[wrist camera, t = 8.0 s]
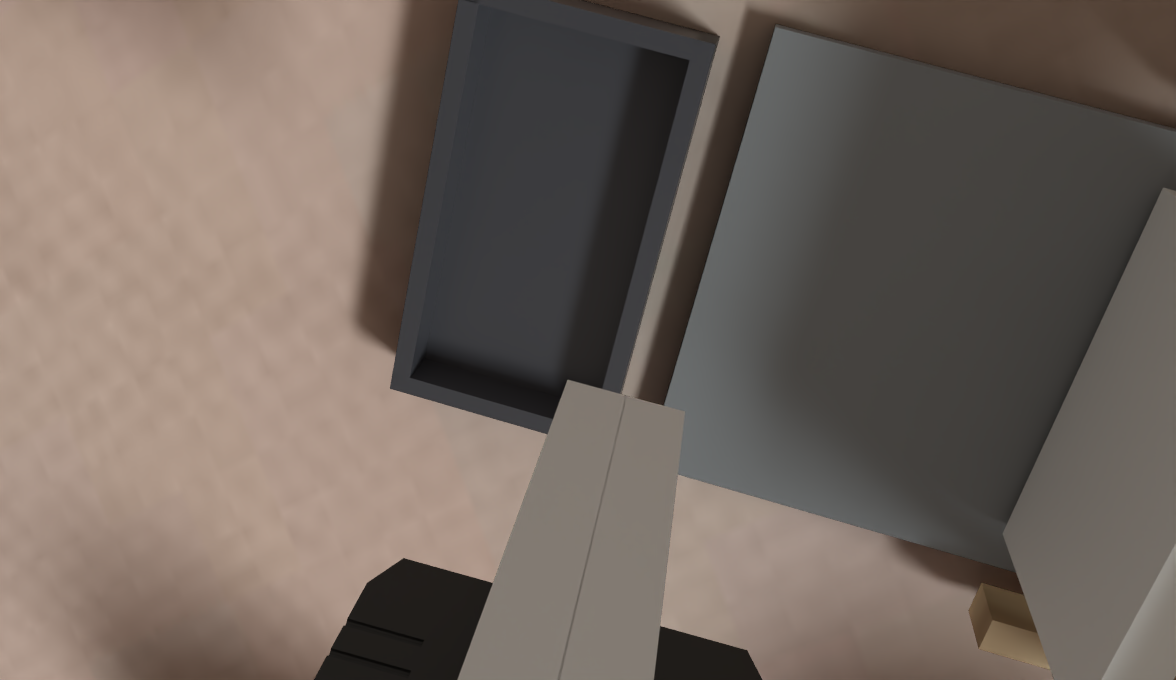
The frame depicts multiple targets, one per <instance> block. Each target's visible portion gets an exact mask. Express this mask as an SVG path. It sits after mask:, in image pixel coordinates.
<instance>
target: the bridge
mask: <svg viewBox="0 0 1176 680" xmlns="http://www.w3.org/2000/svg"><path fill="white" fill-rule="evenodd" d="M969 614H970V618H971V622H972V626H973V629H974V633H975V637H976V641H977V644H978V648H979V649H980V650H984V651H987V652H991V653H994V654H997V655H1001V656H1004V657H1007V658H1011V659H1014V660H1018V661H1021V662H1024V663H1028V664H1031V665H1035V666H1038V667H1041V668H1045V669H1048V670H1050V667H1049V664H1048V661H1047V658H1046V655H1045V653H1044V650H1043V647H1042V644H1041V641H1040V638H1039V636H1038V633H1037V630H1036V627H1035V624H1034V621H1033V619H1032V616H1031V613H1030V610H1029V607H1028V604H1027V602H1026V599H1025V596H1024V595H1022V594H1019V593H1015V592H1012V591H1008V590H1005V589H1001V588H998V587H995V586H991V585H988V584H984V583H981V585H980V587H979V589H978V591H977V593H976V596H975V598H974V600H973V602H972V604H971V606H970V608H969ZM1174 680H1176V676H1175V678H1174Z"/></svg>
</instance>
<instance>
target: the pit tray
mask: <svg viewBox="0 0 1176 680" xmlns="http://www.w3.org/2000/svg"><path fill="white" fill-rule="evenodd" d="M719 37H720V36H716V35H713V34H709V33H705V32H701V31H697V30H694V29H690V28H686V27H682V26H678V25H675V24H671V23H667V22H663V21H659V20H656V19H652V18H648V17H644V16H641V15H637V14H633V13H629V12H625V11H622V10H618V9H614V8H610V7H606V6H603V5H599V4H595V3H591V2H587V1H584V0H458V6H457V11H456V17H455V23H454V28H453V34H452V40H451V45H450V51H449V57H448V62H447V68H446V74H445V79H444V85H443V91H442V96H441V102H440V108H439V113H438V119H437V125H436V130H435V136H434V142H433V147H432V153H431V159H430V164H429V170H428V176H427V181H426V187H425V193H424V198H423V204H422V210H421V215H420V221H419V227H418V232H417V238H416V244H415V249H414V255H413V261H412V266H411V272H410V278H409V283H408V289H407V295H406V300H405V306H404V312H403V317H402V323H401V329H400V334H399V340H398V346H397V351H396V357H395V363H394V368H393V374H392V380H391V385H390V389H393V390H397V391H400V392H404V393H407V394H411V395H414V396H418V397H421V398H424V399H428V400H431V401H435V402H438V403H442V404H445V405H449V406H452V407H455V408H459V409H462V410H466V411H469V412H473V413H476V414H480V415H483V416H486V417H490V418H493V419H497V420H500V421H504V422H507V423H511V424H514V425H517V426H521V427H524V428H528V429H531V430H535V431H538V432H542V433H545V434H548V432H549V429H550V426H551V424H552V421H553V418H554V415H555V413H556V410H557V407H558V404H559V402H560V399H561V396H562V394H563V391H564V388H565V385H566V383H567V380H571V381H574V382H578V383H582V384H585V385H589V386H593V387H597V388H600V389H604V390H608V391H611V392H615V393H619V394H622V390H623V386H624V383H625V379H626V376H627V372H628V368H629V365H630V361H631V357H632V354H633V350H634V346H635V343H636V339H637V336H638V332H639V328H640V325H641V321H642V317H643V314H644V310H645V306H646V303H647V299H648V296H649V292H650V288H651V285H652V281H653V277H654V274H655V270H656V266H657V263H658V259H659V256H660V252H661V248H662V245H663V241H664V237H665V234H666V230H667V226H668V223H669V219H670V216H671V212H672V208H673V205H674V201H675V197H676V194H677V190H678V186H679V183H680V179H681V176H682V172H683V168H684V165H685V161H686V157H687V154H688V150H689V146H690V143H691V139H692V136H693V132H694V128H695V125H696V121H697V117H698V114H699V110H700V106H701V103H702V99H703V96H704V92H705V88H706V85H707V81H708V77H709V74H710V70H711V66H712V63H713V59H714V56H715V52H716V48H717V45H718V41H719Z"/></svg>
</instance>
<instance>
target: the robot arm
mask: <svg viewBox="0 0 1176 680" xmlns="http://www.w3.org/2000/svg"><path fill="white" fill-rule="evenodd" d="M684 416H685V411H681V410H677V409H674V408H670V407H666V406H663V405H659V404H655V403H652V402H648V401H644V400H641V399H637V398H633V397H630V396H626V395H622V394H619V393H615V392H611V391H608V390H604V389H600V388H597V387H593V386H589V385H585V384H582V383H578V382H574V381H571V380H567V383H566V385H565V388H564V391H563V394H562V396H561V399H560V402H559V404H558V407H557V410H556V413H555V415H554V418H553V421H552V424H551V426H550V429H549V432H548V434H547V437H546V440H545V443H544V445H543V448H542V451H541V453H540V456H539V459H538V462H537V464H536V467H535V470H534V473H533V475H532V478H531V481H530V483H529V486H528V489H527V492H526V494H525V497H524V500H523V503H522V505H521V508H520V511H519V513H518V516H517V519H516V522H515V524H514V527H513V530H512V533H511V535H510V538H509V541H508V543H507V546H506V549H505V552H504V554H503V557H502V560H501V562H500V565H499V568H498V571H497V573H496V576H495V579H494V582H493V583H491V582H487V581H483V580H480V579H476V578H473V577H469V576H466V575H462V574H458V573H455V572H451V571H448V570H444V569H440V568H437V567H433V566H430V565H426V564H423V563H419V562H415V561H412V560H408V559H405V558H403V559H402V560H400V561H399V562H397V563H396V564H395V565H393V566H392V567H390V568H389V569H387V570H386V571H384V572H383V573H381V574H380V575H378V576H377V577H375V578H374V579H372V580H371V581H369V582H368V583H367V584H366V586H365V588H364V590H363V591H362V593H361V595H360V597H359V599H358V601H357V602H356V604H355V606H354V608H353V610H352V611H351V613H350V615H349V617H348V619H347V623H346V625H345V626H343V628H342V630H341V631H340V633H339V635H338V637H337V639H336V641H335V642H334V644H333V646H332V648H331V651H330V654H329V656H327V657H326V659H325V661H324V662H323V664H322V666H321V668H320V670H319V671H318V673H317V675H316V677H315V679H314V680H762V678H761V676H760V674H759V673H758V671H757V669H756V667H755V665H754V663H753V661H752V659H751V657H750V655H749V653H748V651H747V650H744V649H740V648H737V647H733V646H729V645H726V644H722V643H719V642H715V641H712V640H708V639H704V638H701V637H697V636H694V635H690V634H686V633H683V632H679V631H676V630H672V629H668V628H665V627H661V626H660V622H661V614H662V605H663V597H664V588H665V579H666V571H667V562H668V554H669V545H670V537H671V528H672V519H673V511H674V502H675V494H676V485H677V476H678V468H679V459H680V451H681V442H682V433H683V425H684Z"/></svg>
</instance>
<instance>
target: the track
mask: <svg viewBox="0 0 1176 680" xmlns="http://www.w3.org/2000/svg"><path fill="white" fill-rule="evenodd" d="M1163 188H1167V189H1170V190H1174V191H1176V129H1175V128H1171V127H1167V126H1163V125H1160V124H1156V123H1152V122H1148V121H1144V120H1140V119H1137V118H1133V117H1129V116H1125V115H1121V114H1118V113H1114V112H1110V111H1106V110H1102V109H1098V108H1095V107H1091V106H1087V105H1083V104H1079V103H1076V102H1072V101H1068V100H1064V99H1060V98H1056V97H1053V96H1049V95H1045V94H1041V93H1037V92H1034V91H1030V90H1026V89H1022V88H1018V87H1014V86H1011V85H1007V84H1003V83H999V82H995V81H992V80H988V79H984V78H980V77H976V76H972V75H969V74H965V73H961V72H957V71H953V70H950V69H946V68H942V67H938V66H934V65H930V64H927V63H923V62H919V61H915V60H911V59H908V58H904V57H900V56H896V55H892V54H889V53H885V52H881V51H877V50H873V49H869V48H866V47H862V46H858V45H854V44H850V43H847V42H843V41H839V40H835V39H831V38H827V37H824V36H820V35H816V34H812V33H808V32H805V31H801V30H797V29H793V28H789V27H785V26H782V25H778V24H776V25H775V28H774V32H773V35H772V38H771V42H770V45H769V49H768V52H767V55H766V59H765V62H764V66H763V69H762V72H761V76H760V79H759V83H758V86H757V89H756V93H755V96H754V100H753V103H752V106H751V110H750V113H749V117H748V120H747V123H746V127H745V130H744V134H743V137H742V140H741V144H740V147H739V151H738V154H737V157H736V161H735V164H734V168H733V171H732V174H731V178H730V181H729V185H728V188H727V191H726V195H725V198H724V202H723V205H722V208H721V212H720V215H719V219H718V222H717V225H716V229H715V232H714V236H713V239H712V242H711V246H710V249H709V253H708V256H707V259H706V263H705V266H704V270H703V273H702V276H701V280H700V283H699V287H698V290H697V293H696V297H695V300H694V303H693V307H692V310H691V314H690V317H689V320H688V324H687V327H686V331H685V334H684V337H683V341H682V344H681V348H680V351H679V354H678V358H677V361H676V365H675V368H674V371H673V375H672V378H671V382H670V385H669V388H668V392H667V395H666V399H665V402H664V405H663V406H666V407H670V408H674V409H677V410H681V411H685V416H684V425H683V433H682V442H681V451H680V459H679V468H678V475H682V476H685V477H689V478H692V479H696V480H699V481H702V482H706V483H709V484H713V485H716V486H720V487H723V488H727V489H730V490H733V491H737V492H740V493H744V494H747V495H751V496H754V497H758V498H761V499H764V500H768V501H771V502H775V503H778V504H782V505H785V506H789V507H792V508H795V509H799V510H802V511H806V512H809V513H813V514H816V515H820V516H823V517H826V518H830V519H833V520H837V521H840V522H844V523H847V524H851V525H854V526H857V527H861V528H864V529H868V530H871V531H875V532H878V533H882V534H885V535H889V536H892V537H895V538H899V539H902V540H906V541H909V542H913V543H916V544H920V545H923V546H926V547H930V548H933V549H937V550H940V551H944V552H947V553H951V554H954V555H957V556H961V557H964V558H968V559H971V560H975V561H978V562H982V563H985V564H988V565H992V566H995V567H999V568H1002V569H1006V570H1009V571H1013V572H1016V570H1015V568H1014V565H1013V562H1012V559H1011V556H1010V553H1009V551H1008V548H1007V545H1006V542H1005V539H1004V536H1003V532H1004V529H1005V527H1006V525H1007V523H1008V521H1009V519H1010V516H1011V514H1012V512H1013V510H1014V508H1015V506H1016V504H1017V501H1018V499H1019V497H1020V495H1021V493H1022V491H1023V488H1024V486H1025V484H1026V482H1027V480H1028V478H1029V475H1030V473H1031V471H1032V469H1033V467H1034V465H1035V463H1036V460H1037V458H1038V456H1039V454H1040V452H1041V450H1042V447H1043V445H1044V443H1045V441H1046V439H1047V437H1048V435H1049V432H1050V430H1051V428H1052V426H1053V424H1054V422H1055V419H1056V417H1057V415H1058V413H1059V411H1060V409H1061V407H1062V404H1063V402H1064V400H1065V398H1066V396H1067V394H1068V391H1069V389H1070V387H1071V385H1072V383H1073V381H1074V379H1075V376H1076V374H1077V372H1078V370H1079V368H1080V366H1081V363H1082V361H1083V359H1084V357H1085V355H1086V353H1087V350H1088V348H1089V346H1090V344H1091V342H1092V340H1093V338H1094V335H1095V333H1096V331H1097V329H1098V327H1099V325H1100V322H1101V320H1102V318H1103V316H1104V314H1105V312H1106V310H1107V307H1108V305H1109V303H1110V301H1111V299H1112V297H1113V294H1114V292H1115V290H1116V288H1117V286H1118V284H1119V282H1120V279H1121V277H1122V275H1123V273H1124V271H1125V269H1126V266H1127V264H1128V262H1129V260H1130V258H1131V256H1132V254H1133V251H1134V249H1135V247H1136V245H1137V243H1138V241H1139V238H1140V236H1141V234H1142V232H1143V230H1144V228H1145V226H1146V223H1147V221H1148V219H1149V217H1150V215H1151V213H1152V210H1153V208H1154V206H1155V204H1156V202H1157V200H1158V197H1159V195H1160V193H1161V191H1162V189H1163Z"/></svg>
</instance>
